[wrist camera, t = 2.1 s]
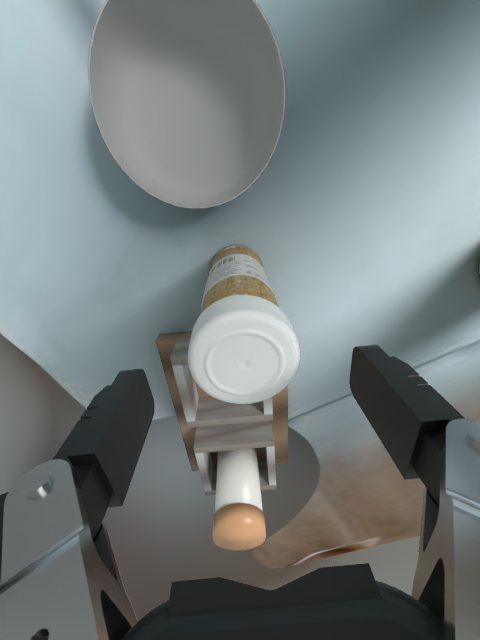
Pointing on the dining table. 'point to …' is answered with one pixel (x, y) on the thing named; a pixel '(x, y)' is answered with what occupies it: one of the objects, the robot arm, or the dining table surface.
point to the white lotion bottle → (238, 501)
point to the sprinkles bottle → (241, 333)
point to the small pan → (187, 95)
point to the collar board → (222, 419)
